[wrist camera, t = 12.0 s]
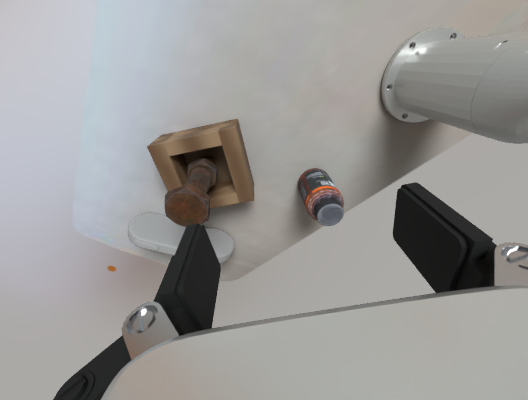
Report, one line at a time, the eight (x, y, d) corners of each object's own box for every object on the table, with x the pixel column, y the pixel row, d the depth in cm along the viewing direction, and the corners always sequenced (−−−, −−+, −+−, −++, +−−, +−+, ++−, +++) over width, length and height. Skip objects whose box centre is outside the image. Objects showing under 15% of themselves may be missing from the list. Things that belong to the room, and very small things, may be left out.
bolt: (221, 179, 43) (207, 231, 30) (192, 176, 42) (166, 227, 29) (223, 149, 40) (208, 191, 27) (192, 145, 39) (163, 186, 26)
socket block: (237, 118, 38) (235, 127, 33) (253, 183, 44) (253, 200, 39) (161, 135, 39) (146, 146, 34) (187, 196, 45) (178, 214, 40)
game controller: (138, 217, 47) (118, 245, 40) (139, 208, 46) (118, 235, 39) (232, 241, 51) (229, 270, 44) (235, 233, 50) (232, 261, 43)
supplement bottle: (305, 200, 46) (318, 237, 36) (292, 176, 43) (303, 209, 34) (333, 186, 45) (355, 221, 35) (322, 161, 42) (342, 191, 32)
